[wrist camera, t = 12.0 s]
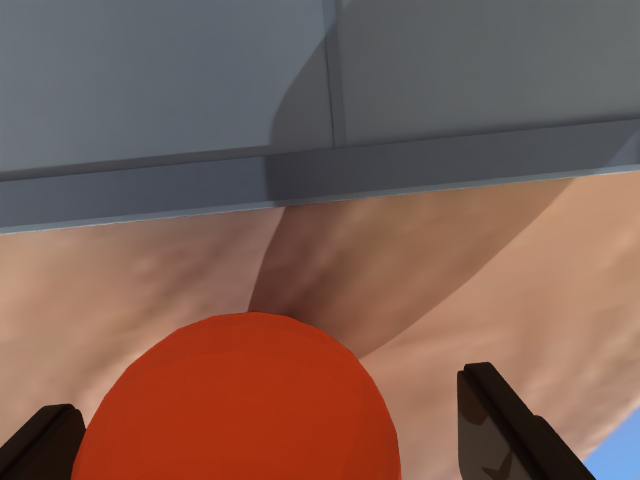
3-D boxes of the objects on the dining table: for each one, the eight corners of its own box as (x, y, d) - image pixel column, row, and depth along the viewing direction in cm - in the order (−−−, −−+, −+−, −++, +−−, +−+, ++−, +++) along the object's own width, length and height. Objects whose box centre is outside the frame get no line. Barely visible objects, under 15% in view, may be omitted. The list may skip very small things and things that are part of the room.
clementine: (417, 275, 12) (574, 459, 5) (399, 473, 13) (498, 827, 6) (142, 270, 11) (-112, 457, 5) (156, 473, 13) (-15, 843, 6)
